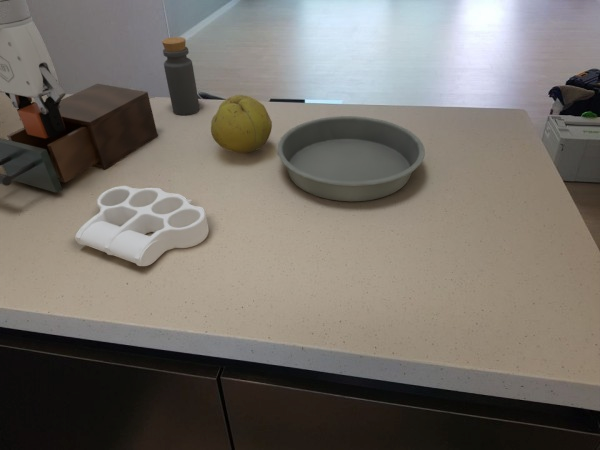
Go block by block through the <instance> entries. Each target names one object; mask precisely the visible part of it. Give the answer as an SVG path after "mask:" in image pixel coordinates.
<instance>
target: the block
mask: <svg viewBox="0 0 600 450" xmlns="http://www.w3.org/2000/svg"><path fill="white" fill-rule="evenodd" d="M58 109H59V108H58ZM59 112H60V111H59ZM17 113H19V114H18V115H20V116H19V119H20V121H21V120H22V121H21V123H22V122H23V123H22V126H23V128H24V127H25V130H26V132H27V134H28V135H32V136H37V137H41V138H45V139H46V138H48V137H49V136H47V133H46V131H45V128H44V126H43V123H42V120H41V118H40V115H39V114H40V113H42V112H41V111H40V109H39V107H38V105H37V103H33V104H31V105H29V106H26V107H24V108H22V109H20V110H18V111H17ZM60 115H61V114H60ZM62 120H63V119H62ZM63 123H64V122H63ZM64 126H65V125H64Z"/></svg>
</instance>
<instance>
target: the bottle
mask: <svg viewBox="0 0 600 450" xmlns="http://www.w3.org/2000/svg"><path fill="white" fill-rule="evenodd" d="M186 41H187V40H186V38H185V37H181V36H173V37H172V36H171V37H166V38H164V39H162V40H161V44H162V45H163V49H162V54H163V56H164V57H166V60H165V61H164V62H163V68H164V74H165V78H166V79H165V80H166V83H167V88H168V93H169V98H170V103H171V108H172V112H173V113H174V114H175V115H178V116H189V115H193V114H197V112H199V111H200V102H199V101H200V100H199V95H198V89H197V83H196V77H195V72H194V65H193V61H192V59H190V58H189V57H187V55H188V54H189V48H188V47H187V46H186Z"/></svg>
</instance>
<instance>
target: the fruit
mask: <svg viewBox="0 0 600 450" xmlns="http://www.w3.org/2000/svg"><path fill="white" fill-rule="evenodd" d="M272 123H273V121H272V119H271V117H270V115H269V113H268V110H267V109H266V107H265V105H264V104H263V103H261V102H260V101H258V100H257V99H255V98H253V97H251V96H248V95H244V94H237V95H233V96H229V97H228V98H226V99H225V100H224V101H222V102H221V104H220V105H219V107H218V109H217V111H216V113H215V114H214V116H213V117H212V119H211V124H210V133H211V137H212V139H213V140H214V142H215V143H216V144H217V145H218V146H220V147H221V148H222V149H225V150H227V151H229V152H234V153H238V154H248V153H253V152H255V151H257V150H259V149H260V148H262V147H263V146H264V145H265V144H266V142H267V141H268V140H269V138H270V137H271V133H272V127H273V124H272Z"/></svg>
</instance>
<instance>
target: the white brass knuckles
mask: <svg viewBox="0 0 600 450" xmlns="http://www.w3.org/2000/svg"><path fill="white" fill-rule="evenodd" d="M192 202H193V199H187V198H186V197H185V196H183V195H182V194H180V193H178V192H177V193H176V192H175V193H172V192H167V191H164V190H163V189H162V188H159V187H145V188H134V187H131V186H128V185H119V186H115V187H112V188H109V189H107V190H104V192H102V193H101V194H100V195H99V196H98V197H97V200H96V204H97V207H98V210H99V212H98V213H97V214H95V215H94V216H92V217H90V218H89V219H88V221H86V222H85V223H84V224H82V225H81V227H80V228H79V229H78V231H77V232H76V233H75V236H74V238H75V241H76V243H78V245H80V246H87V247H90V248H93V249H95V250H97V251H100V252H103V253H106V255H108V256H114V257H117V258H119V259H123V260H125V261H127V262H131V263H132V264H133V263H134V264H136V266H139V267H148V266H150V265H152V264H153V263H155V262H156V261H157V260H158V259H159V258H161V256H162V255H163V254H165V253H166V252H167V251H170V250H173V249H188V248H192V247H195V246H197V245H200V244H201V243H203V242H204V241H205V239H207V237H208V235H209V231H210V230H209V223H208V219H207V214H206V210H205V209H204V208H203V207H202V206H196V205H193V204H191V203H192ZM148 233H152V234H151V235H148Z"/></svg>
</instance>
